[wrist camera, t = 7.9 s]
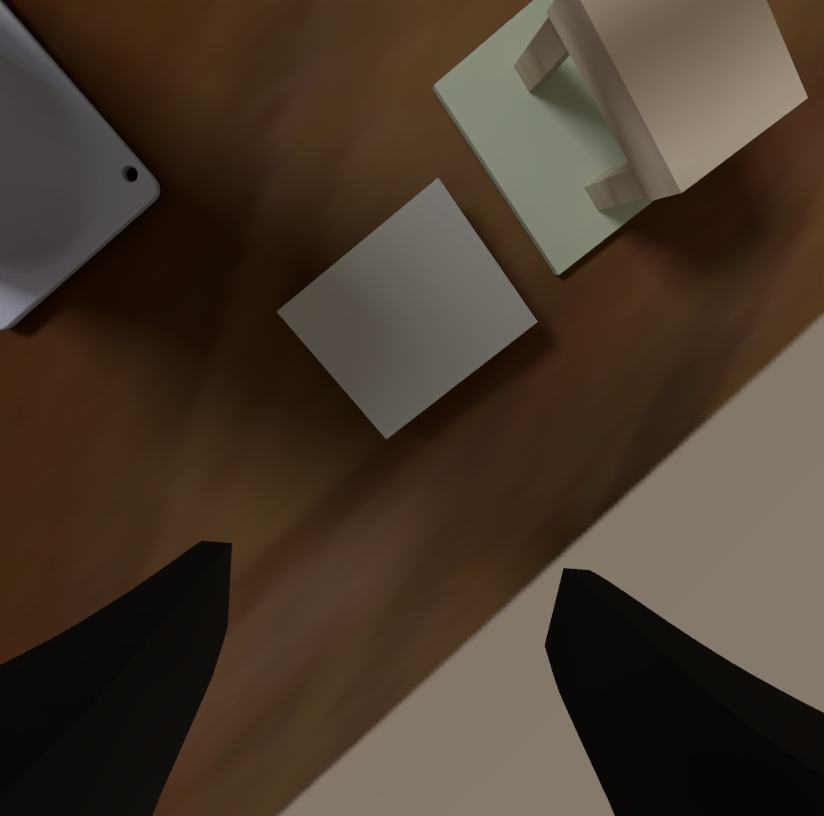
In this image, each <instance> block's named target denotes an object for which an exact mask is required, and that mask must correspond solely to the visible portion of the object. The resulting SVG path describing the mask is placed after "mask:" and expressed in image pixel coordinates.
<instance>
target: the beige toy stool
mask: <svg viewBox="0 0 824 816" xmlns="http://www.w3.org/2000/svg"><path fill="white" fill-rule="evenodd" d="M546 12H547V14H548V16H549V17H548V18H547V19H546V21H545V22H544V24H543V25H542V26H541V28H540V29H539V31H538V32H537V34H536V35H535V36H534V38H533V39H532V41H531V42H530V43H529V45H528V46H527V48H526V49H525V50H524V52H523V53H522V55H521V56H520V57H519V59H518V60H517V62H516V63H515V64H514V68H515V69H516V71H517V73H518V74H519V76H520V78H521V80H522V81H523V83H524V85H525V86H526V88H527V90H528V92H531V91H532V90H533V89H534V88H536V87H537V86H538V85H539V84H541V83H542V82H543V81H544V80H545V79H547V78H548V77H549V76H550V75H552V74H553V73H554V72H555V71H556V70H557V69H558V67H559V66H560V65H561V64H562V63H563V62H564V61H565V60H566V59H567V58H568V57H569V56H571V58H572V60H573V62H574V64H575V66H576V67H577V69H578V71H579V73H580V75H581V77H582V78H583V80H584V82H585V84H586V86H587V87H588V89H589V91H590V93H591V95H592V97H593V98H594V100H595V102H596V104H597V106H598V108H599V109H600V111H601V113H602V115H603V117H604V119H605V120H606V122H607V124H608V126H609V128H610V130H611V131H612V133H613V135H614V137H615V139H616V141H617V142H618V144H619V146H620V148H621V150H622V152H623V153H624V155H625V157H626V159H627V162H624V163H622V164H620V165H617V166H615V167H613V168H610V169H608V170H606V171H605V172H604V173H602V174H601V175H600V176H598V177H597V178H596V179H595V180H593V181H592V182H591V183H589V184H588V185H587V186H585V187H584V188H585V190H586V191H587V193H588V195H589V197H590V198H591V200H592V202H593V203H594V205H595V207H596V209H597V210H598V211H599V210H602V209H606V208H610V207H613V206H617V205H621V204H624V203H628V202H632V201H635V200H639V199H643V198H647V197H648V199H649V201H653V200H657V199H660V198H664V197H668V196H672V195H676V194H680V193H683V192H684V191H685V190H686V189H688V188H689V187H690V186H692V185H693V184H694V183H696V182H697V181H698V180H700V179H701V178H702V177H704V176H705V175H706V174H708V173H709V172H710V171H712V170H713V169H714V168H716V167H717V166H718V165H720V164H721V163H722V162H724V161H725V160H726V159H728V158H729V157H730V156H731V155H733V154H734V153H735V152H737V151H738V150H739V149H741V148H742V147H743V146H745V145H746V144H747V143H749V142H750V141H751V140H753V139H754V138H755V137H757V136H758V135H759V134H761V133H762V132H763V131H765V130H766V129H767V128H769V127H770V126H771V125H773V124H774V123H775V122H776V121H778V120H779V119H780V118H782V117H783V116H784V115H786V114H787V113H788V112H790V111H791V110H792V109H794V108H795V107H796V106H798V105H799V104H800V103H802V102H803V101H804V100H806V99H807V98H808V97H807V95H806V92H805V90H804V88H803V85H802V83H801V81H800V78H799V76H798V73H797V71H796V69H795V66H794V64H793V62H792V59H791V57H790V55H789V52H788V50H787V47H786V45H785V43H784V40H783V38H782V36H781V33H780V31H779V29H778V26H777V24H776V21H775V19H774V17H773V14H772V12H771V10H770V7H769V5H768V3H767V0H554V1H553V3H552V4H551V6H550V7H549V9H548V10H547V11H546Z"/></svg>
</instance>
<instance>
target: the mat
mask: <svg viewBox="0 0 824 816" xmlns="http://www.w3.org/2000/svg"><path fill="white" fill-rule="evenodd" d="M553 1H554V0H533V1H532V2H531V3H530V4H529V5H527V6H526V7H525V8H524V9H523V10H521V11H520V12H519V13H518V14H517V15H516V16H514V17H513V18H512V19H511V20H510V21H509V22H507V23H506V24H505V25H504V26H503V27H502V28H500V29H499V30H498V31H497V32H496V33H494V34H493V35H492V36H491V37H490V38H489V39H487V40H486V41H485V42H484V43H483V44H482V45H480V46H479V47H478V48H477V49H476V50H475V51H473V52H472V53H471V54H470V55H469V56H468V57H466V58H465V59H464V60H463V61H462V62H460V63H459V64H458V65H457V66H456V67H455V68H453V69H452V70H451V71H450V72H449V73H448V74H446V75H445V76H444V77H443V78H442V79H441V80H439V81H438V82H437V83H436V84H435V85H434V87H433V91H434V92H435V94H436V95H437V97H438V98H439V100H440V101H441V103H442V104H443V106H444V107H445V109H446V110H447V112H448V113H449V115H450V117H451V118H452V120H453V121H454V123H455V124H456V126H457V127H458V129H459V130H460V132H461V133H462V135H463V136H464V138H465V139H466V141H467V142H468V144H469V145H470V147H471V148H472V150H473V151H474V153H475V154H476V156H477V158H478V159H479V161H480V162H481V164H482V165H483V167H484V168H485V170H486V171H487V173H488V174H489V176H490V177H491V179H492V180H493V182H494V183H495V185H496V186H497V188H498V189H499V191H500V192H501V194H502V195H503V197H504V199H505V200H506V202H507V203H508V205H509V206H510V208H511V209H512V211H513V212H514V214H515V215H516V217H517V218H518V220H519V221H520V223H521V224H522V226H523V227H524V229H525V230H526V232H527V233H528V235H529V236H530V238H531V240H532V241H533V243H534V244H535V246H536V247H537V249H538V250H539V252H540V253H541V255H542V256H543V258H544V259H545V261H546V262H547V264H548V265H549V267H550V268H551V270H552V271H553V273H554V274H555V275H560V274H561V273H562V272H563V271H565V270H566V269H567V268H569V267H570V266H571V265H572V264H574V263H575V262H576V261H577V260H579V259H580V258H581V257H583V256H584V255H585V254H586V253H588V252H589V251H590V250H591V249H593V248H594V247H595V246H597V245H598V244H599V243H600V242H602V241H603V240H604V239H606V238H607V237H608V236H609V235H611V234H612V233H613V232H614V231H616V230H617V229H618V228H620V227H621V226H622V225H623V224H625V223H626V222H627V221H628V220H630V219H631V218H632V217H634V216H635V215H636V214H637V213H639V212H640V211H641V210H643V209H644V208H645V207H646V206H648V205H649V204H650V203H651V202H653V201H654V200H653V201H649V199H648V197H647V198H643V199H639V200H635V201H632V202H628V203H624V204H621V205H617V206H613V207H610V208H606V209H602V210H599V211H598V210H597V209H596V207H595V205H594V203H593V202H592V200H591V198H590V197H589V195H588V193H587V191H586V190H585V188H584V187H585V186H587V185H588V184H589V183H591V182H592V181H593V180H595V179H596V178H597V177H598V176H600V175H601V174H602V173H604V172H605V171H606V170H608V169H610V168H613V167H615V166H617V165H620V164H622V163H624V162H627V159H626V157H625V155H624V153H623V152H622V150H621V148H620V146H619V144H618V142H617V141H616V139H615V137H614V135H613V133H612V131H611V130H610V128H609V126H608V124H607V122H606V120H605V119H604V117H603V115H602V113H601V111H600V109H599V108H598V106H597V104H596V102H595V100H594V98H593V97H592V95H591V93H590V91H589V89H588V87H587V86H586V84H585V82H584V80H583V78H582V77H581V75H580V73H579V71H578V69H577V67H576V66H575V64H574V62H573V60H572V58H571V56H569V57H568V58H567V59H566V60H565V61H564V62H563V63H562V64H561V65H560V66H559V67H558V69H557V70H556V71H555V72H554V73H553V74H552V75H550V76H549V77H548V78H547V79H545V80H544V81H543V82H542V83H541V84H539V85H538V86H537V87H536V88H534V89H533V90H532V91H531V92H528V90H527V88H526V86H525V85H524V83H523V81H522V80H521V78H520V76H519V74H518V73H517V71H516V69H515V68H514V64H515V63H516V62H517V60H518V59H519V57H520V56H521V55H522V53H523V52H524V50H525V49H526V48H527V46H528V45H529V43H530V42H531V41H532V39H533V38H534V36H535V35H536V34H537V32H538V31H539V29H540V28H541V26H542V25H543V24H544V22H545V21H546V19H547V18H548V17H549V16H548V14H547V12H546V11H547V10H548V9H549V7H550V6H551V4H552V3H553Z"/></svg>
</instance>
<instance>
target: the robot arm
mask: <svg viewBox="0 0 824 816" xmlns="http://www.w3.org/2000/svg"><path fill="white" fill-rule="evenodd" d="M130 168H136V170H137V172H138V178H137V179H136V181H134V182H130V181H129V180H128V178H127V172H128V170H129V169H130ZM159 195H160V186H159V183H158V181H157V180H156V178H155V177H154V176H153V175H152V174H151V173H150V171H149V170H148V169H147V168H146V167H145V166H144V164H143V163H142V162H141V161H140V160H139V159H138V157H137V156H136V155H135V154H134V153H133V152H132V151H131V149H130V148H129V147H128V146H127V145H126V144H125V142H124V141H123V140H122V139H121V138H120V137H119V135H118V134H117V133H116V132H115V131H114V130H113V128H112V127H111V126H110V125H109V124H108V123H107V122H106V120H105V119H104V118H103V117H102V116H101V115H100V113H99V112H98V111H97V110H96V109H95V108H94V106H93V105H92V104H91V103H90V102H89V101H88V99H87V98H86V97H85V96H84V95H83V94H82V93H81V91H80V90H79V89H78V88H77V87H76V86H75V84H74V83H73V82H72V81H71V80H70V79H69V77H68V76H67V75H66V74H65V73H64V72H63V70H62V69H61V68H60V67H59V66H58V65H57V64H56V62H55V61H54V60H53V59H52V58H51V57H50V55H49V54H48V53H47V52H46V51H45V50H44V48H43V47H42V46H41V45H40V44H39V43H38V41H37V40H36V39H35V38H34V37H33V36H32V34H31V33H30V32H29V31H28V30H27V29H26V28H25V26H24V25H23V24H22V23H21V22H20V21H19V19H18V18H17V17H16V16H15V15H14V14H13V12H12V11H11V10H10V9H9V8H8V7H7V5H6V4H5V3H4V2H3V1H2V0H0V330H4V329H10V328H11V327H13V326H15V325H16V324H17V323H18V322H19V321H20V320H21V319H23V318H24V317H25V316H26V315H27V314H28V313H29V312H30V311H32V310H33V309H34V308H35V307H36V306H37V305H38V304H40V303H41V302H42V301H43V300H44V299H45V298H46V297H47V296H49V295H50V294H51V293H52V292H53V291H54V290H55V289H57V288H58V287H59V286H60V285H61V284H62V283H63V282H64V281H66V280H67V279H68V278H69V277H70V276H71V275H72V274H73V273H75V272H76V271H77V270H78V269H79V268H80V267H81V266H83V265H84V264H85V263H86V262H87V261H88V260H89V259H90V258H92V257H93V256H94V255H95V254H96V253H97V252H98V251H99V250H101V249H102V248H103V247H104V246H105V245H106V244H107V243H109V242H110V241H111V240H112V239H113V238H114V237H115V236H116V235H118V234H119V233H120V232H121V231H122V230H123V229H124V228H126V227H127V226H128V225H129V224H130V223H131V222H132V221H133V220H135V219H136V218H137V217H138V216H139V215H140V214H141V213H142V212H144V211H145V210H146V209H147V208H148V207H149V206H150V205H152V204H153V203H154V202H155V201H156V200H157V198H158V197H159ZM231 551H232V543H222V542H209V541H201V542H199V543H198V544H196V545H195V546H193V547H192V548H190V549H189V550H187V551H186V552H185V553H183V554H182V555H181V556H179V557H178V558H176V559H175V560H174V561H172V562H171V563H169V564H168V565H167V566H165V567H164V568H162V569H161V570H160V571H158V572H157V573H155V574H154V575H152V576H151V577H150V578H148V579H147V580H145V581H144V582H142V583H141V584H139V585H138V586H137V587H135V588H134V589H132V590H131V591H129V592H128V593H126V594H125V595H123V596H121V597H120V598H118V599H117V600H115V601H113V602H112V603H110V604H109V605H107V606H105V607H104V608H102V609H101V610H99V611H97V612H96V613H94V614H93V615H91V616H89V617H88V618H86V619H85V620H83V621H81V622H80V623H78V624H76V625H75V626H73V627H71V628H69V629H68V630H66V631H64V632H62V633H61V634H59V635H57V636H55V637H53V638H52V639H50V640H48V641H46V642H44V643H42V644H40V645H38V646H36V647H35V648H33V649H31V650H29V651H27V652H25V653H23V654H21V655H19V656H17V657H15V658H13V659H11V660H9V661H7V662H5V663H3V664H1V665H0V816H152V815H153V812H154V810H155V807H156V805H157V802H158V800H159V797H160V795H161V793H162V790H163V788H164V786H165V784H166V781H167V779H168V777H169V775H170V772H171V770H172V768H173V765H174V763H175V761H176V759H177V756H178V754H179V752H180V750H181V747H182V745H183V743H184V740H185V738H186V736H187V734H188V731H189V729H190V727H191V725H192V722H193V720H194V718H195V716H196V713H197V711H198V709H199V706H200V704H201V702H202V699H203V697H204V695H205V693H206V690H207V688H208V686H209V683H210V681H211V679H212V676H213V673H214V670H215V667H216V664H217V661H218V657H219V654H220V651H221V648H222V644H223V641H224V638H225V634H226V631H227V625H228V607H229V588H230V570H231ZM545 648H546V651H547V655H548V658H549V662H550V665H551V669H552V672H553V675H554V678H555V681H556V684H557V687H558V690H559V693H560V695H561V697H562V700H563V702H564V704H565V706H566V709H567V711H568V713H569V715H570V718H571V720H572V722H573V724H574V726H575V729H576V731H577V733H578V735H579V737H580V739H581V742H582V744H583V746H584V748H585V751H586V753H587V755H588V757H589V759H590V761H591V764H592V766H593V768H594V770H595V772H596V774H597V777H598V779H599V781H600V783H601V785H602V788H603V790H604V792H605V794H606V796H607V798H608V801H609V803H610V805H611V808H612V810H613V813H614V815H615V816H824V713H823V712H821V711H819V710H817V709H815V708H813V707H811V706H809V705H807V704H805V703H803V702H801V701H799V700H798V699H795V698H794V697H792V696H790V695H788V694H786V693H785V692H783V691H781V690H779V689H777V688H775V687H774V686H771V685H770V684H768V683H766V682H765V681H763V680H761V679H759V678H757V677H755V676H754V675H752V674H750V673H748V672H747V671H745V670H743V669H742V668H740V667H738V666H736V665H735V664H733V663H731V662H730V661H728V660H727V659H725V658H723V657H722V656H720V655H718V654H717V653H715V652H713V651H712V650H711V649H709V648H707V647H706V646H704V645H702V644H701V643H699V642H698V641H696V640H695V639H693V638H692V637H690V636H689V635H687V634H685V633H684V632H683V631H681V630H680V629H678V628H677V627H675V626H674V625H672V624H671V623H669V622H667V621H666V620H665V619H663V618H662V617H660V616H659V615H657V614H656V613H654V612H653V611H652V610H650V609H648V608H647V607H646V606H644V605H643V604H641V603H640V602H638V601H637V600H636V599H634V598H633V597H631V596H630V595H628V594H627V593H625V592H624V591H622V590H620V589H619V588H618V587H616V586H615V585H613V584H612V583H610V582H609V581H607V580H606V579H604V578H602V577H601V576H599V575H597V574H596V573H594V572H592V571H590V570H580V569H567V568H564V569H563V573H562V577H561V582H560V585H559V589H558V593H557V597H556V601H555V606H554V610H553V614H552V618H551V622H550V626H549V630H548V634H547V638H546V642H545Z"/></svg>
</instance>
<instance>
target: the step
mask: <svg viewBox="0 0 824 816" xmlns="http://www.w3.org/2000/svg"><path fill="white" fill-rule="evenodd" d="M277 313H278V314H279V315H280V316H281V317H282V318H283V320H284V321H285V322H286V323H287V324H288V325H289V327H290V328H291V329H292V330H293V331H294V332H295V334H296V335H297V336H298V337H299V338H300V339H301V341H302V342H303V343H304V344H305V345H306V346H307V348H308V349H309V350H310V351H311V352H312V353H313V355H314V356H315V357H316V358H317V359H318V360H319V362H320V363H321V364H322V365H323V366H324V367H325V369H326V370H327V371H328V372H329V373H330V374H331V376H332V377H333V378H334V379H335V380H336V381H337V383H338V384H339V385H340V386H341V387H342V388H343V390H344V391H345V392H346V393H347V394H348V395H349V397H350V398H351V399H352V400H353V401H354V402H355V404H356V405H357V406H358V407H359V408H360V409H361V411H362V412H363V413H364V414H365V415H366V416H367V418H368V419H369V420H370V421H371V422H372V423H373V425H374V426H375V427H376V428H377V429H378V430H379V432H380V433H381V434H382V435H383V436H384V437H385V439H388V438H389V437H390V436H391V435H393V434H394V433H395V432H397V431H398V430H399V429H400V428H402V427H403V426H404V425H406V424H407V423H408V422H409V421H411V420H412V419H413V418H415V417H416V416H417V415H419V414H420V413H421V412H422V411H424V410H425V409H426V408H428V407H429V406H430V405H431V404H433V403H434V402H435V401H437V400H438V399H439V398H440V397H442V396H443V395H444V394H446V393H447V392H448V391H449V390H451V389H452V388H453V387H455V386H456V385H457V384H458V383H460V382H461V381H462V380H464V379H465V378H466V377H467V376H469V375H470V374H471V373H473V372H474V371H475V370H476V369H478V368H479V367H480V366H482V365H483V364H484V363H485V362H487V361H488V360H489V359H491V358H492V357H493V356H494V355H496V354H497V353H498V352H500V351H501V350H502V349H503V348H505V347H506V346H507V345H509V344H510V343H511V342H513V341H514V340H515V339H516V338H518V337H519V336H520V335H522V334H523V333H524V332H525V331H527V330H528V329H529V328H531V327H532V326H533V325H534V324H536V323H537V320H536V319H535V317H534V316H533V314H532V313H531V311H530V310H529V309H528V307H527V306H526V304H525V303H524V301H523V300H522V298H521V297H520V296H519V294H518V293H517V291H516V290H515V288H514V287H513V285H512V284H511V282H510V281H509V280H508V278H507V277H506V275H505V274H504V272H503V271H502V269H501V268H500V267H499V265H498V264H497V262H496V261H495V259H494V258H493V256H492V255H491V253H490V252H489V251H488V249H487V248H486V246H485V245H484V243H483V242H482V240H481V239H480V238H479V236H478V235H477V233H476V232H475V230H474V229H473V227H472V226H471V225H470V223H469V222H468V220H467V219H466V217H465V216H464V214H463V213H462V211H461V210H460V209H459V207H458V206H457V204H456V203H455V201H454V200H453V198H452V197H451V196H450V194H449V193H448V191H447V190H446V188H445V187H444V185H443V184H442V183H441V181H440V180H439V178H437V179H436V180H435V181H434V182H432V183H431V184H430V185H429V186H427V187H426V188H425V189H424V190H423V191H421V192H420V193H419V194H418V195H417V196H415V197H414V198H413V199H412V200H411V201H409V202H408V203H407V204H406V205H405V206H403V207H402V208H401V209H400V210H399V211H397V212H396V213H395V214H394V215H393V216H391V217H390V218H389V219H388V220H387V221H385V222H384V223H383V224H382V225H380V226H379V227H378V228H377V229H376V230H374V231H373V232H372V233H371V234H370V235H368V236H367V237H366V238H365V239H364V240H362V241H361V242H360V243H359V244H358V245H356V246H355V247H354V248H353V249H352V250H350V251H349V252H348V253H347V254H346V255H344V256H343V257H342V258H341V259H340V260H338V261H337V262H336V263H335V264H333V265H332V266H331V267H330V268H329V269H327V270H326V271H325V272H324V273H323V274H321V275H320V276H319V277H318V278H317V279H315V280H314V281H313V282H312V283H311V284H309V285H308V286H307V287H306V288H305V289H303V290H302V291H301V292H300V293H299V294H297V295H296V296H295V297H294V298H292V299H291V300H290V301H289V302H288V303H286V304H285V305H284V306H283V307H282V308H280V309H279V310H278V311H277Z"/></svg>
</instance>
